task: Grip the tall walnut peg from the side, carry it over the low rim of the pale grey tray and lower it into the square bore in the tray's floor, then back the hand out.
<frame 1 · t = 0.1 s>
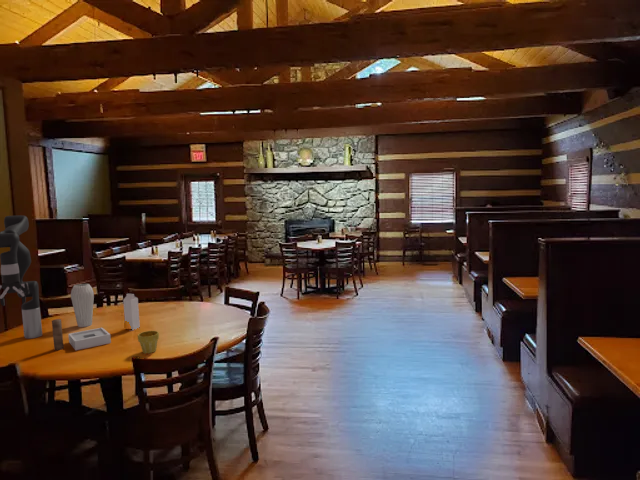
hand: (13, 304, 238), 29 cm above the table, tool pointing down, fingers open, 8 cm apart
vase: (84, 325, 303), on the table
tray: (89, 342, 267), on the table
peg: (59, 348, 257), on the table
plant pot: (149, 351, 249), on the table
milk: (132, 329, 292), on the table
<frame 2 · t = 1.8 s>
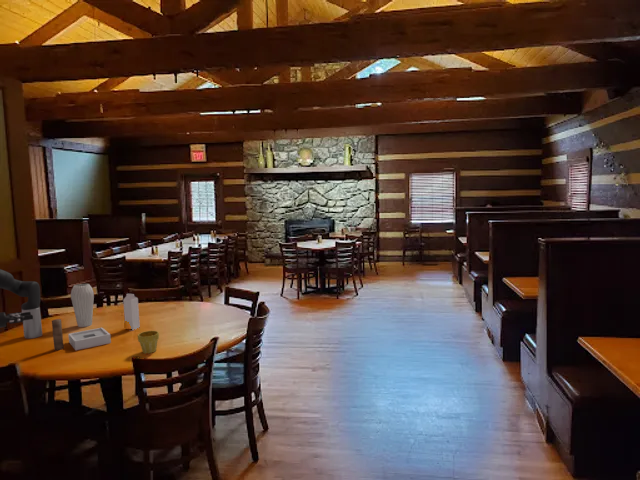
hand: (31, 315, 248), 21 cm above the table, tool horizontal, fingers open, 8 cm apart
nothing on the table moved.
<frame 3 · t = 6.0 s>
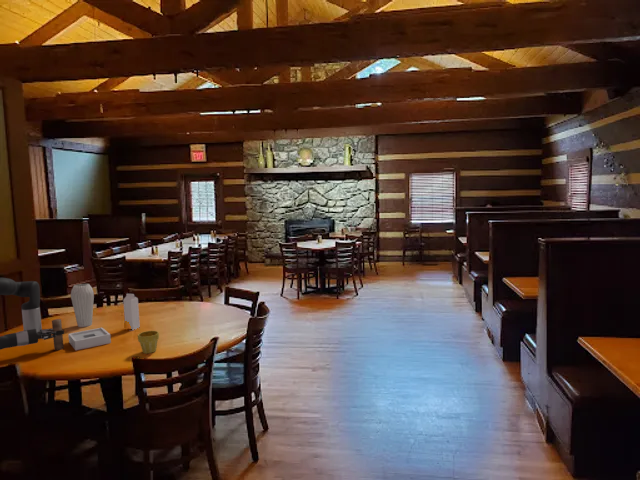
hand: (63, 330, 258), 10 cm above the table, tool horizontal, fingers closed on peg, 4 cm apart
peg: (59, 348, 257), on the table, touching gripper
everything else where it was.
when the fingers open (11 cm above the table, at t = 11.3 s): peg drops 1 cm, resting in tray.
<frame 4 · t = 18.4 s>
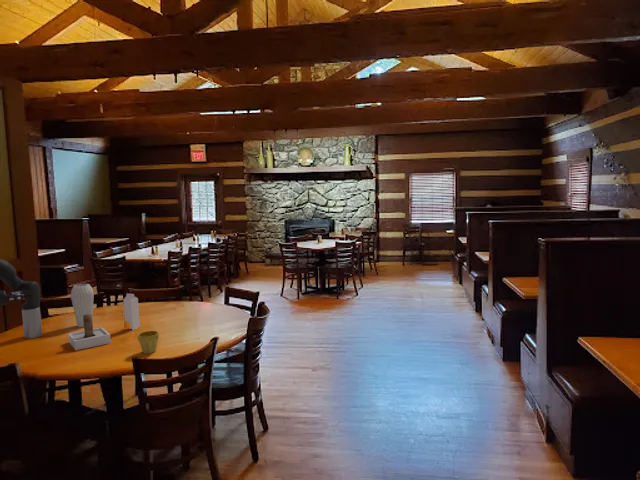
hand: (31, 293, 249), 32 cm above the table, tool horizontal, fingers open, 8 cm apart
peg: (89, 342, 267), resting in tray
everything else where it was.
at the end: peg 0.1 cm off-centre on the tray, point 0.0 cm above the tray's base; peg tilted 0°; the gripper is holding nothing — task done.
